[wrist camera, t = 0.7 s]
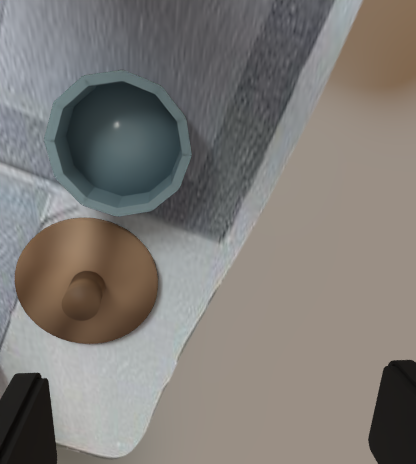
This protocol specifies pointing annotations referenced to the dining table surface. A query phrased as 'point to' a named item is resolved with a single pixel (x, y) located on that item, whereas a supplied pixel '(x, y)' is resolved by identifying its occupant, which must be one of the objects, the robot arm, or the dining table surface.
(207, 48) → the dining table surface
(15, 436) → the robot arm
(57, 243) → the lid
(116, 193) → the bowl
